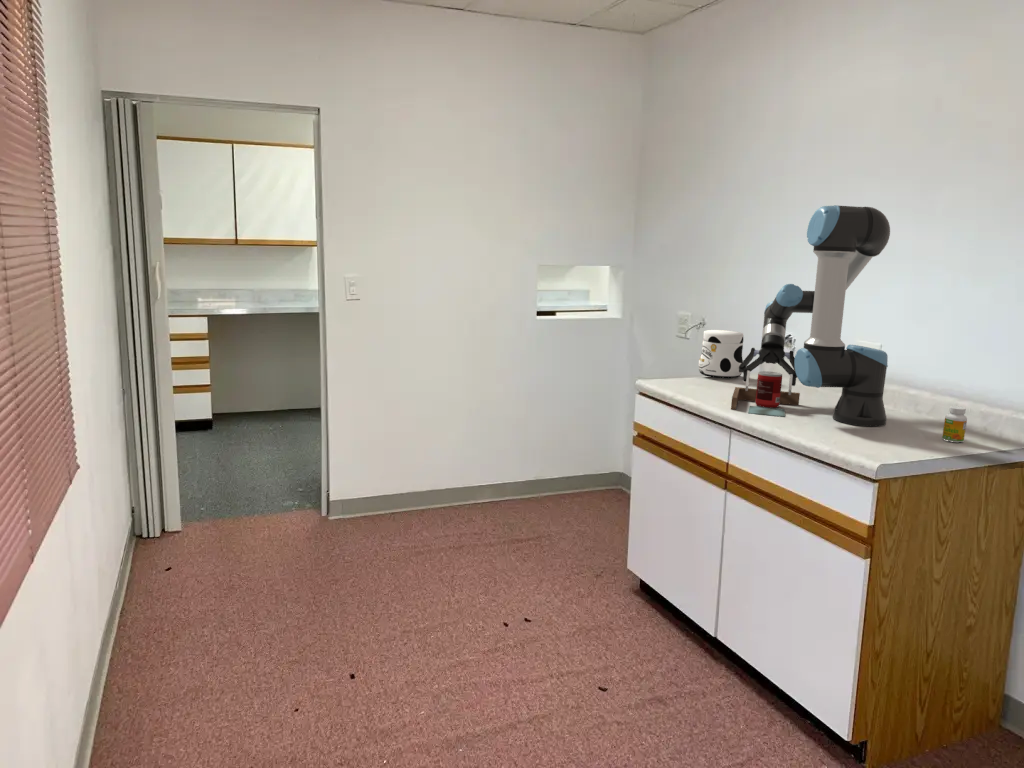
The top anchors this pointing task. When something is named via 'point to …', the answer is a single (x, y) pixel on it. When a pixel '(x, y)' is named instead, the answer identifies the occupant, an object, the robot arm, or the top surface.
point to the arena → (751, 396)
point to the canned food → (768, 389)
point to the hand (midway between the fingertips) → (768, 390)
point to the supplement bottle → (955, 424)
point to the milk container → (721, 354)
